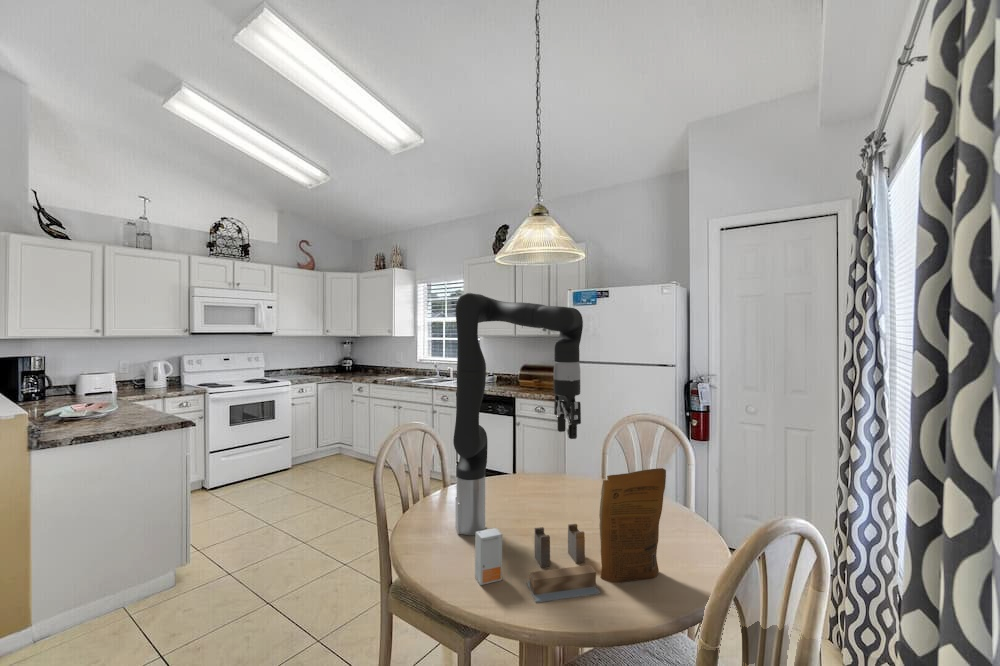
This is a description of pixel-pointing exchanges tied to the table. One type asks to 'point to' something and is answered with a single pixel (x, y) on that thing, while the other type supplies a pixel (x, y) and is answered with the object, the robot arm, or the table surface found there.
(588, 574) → the rail
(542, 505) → the table surface
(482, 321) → the robot arm
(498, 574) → the skincare box
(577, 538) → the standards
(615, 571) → the pancake mix bag
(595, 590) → the mat
